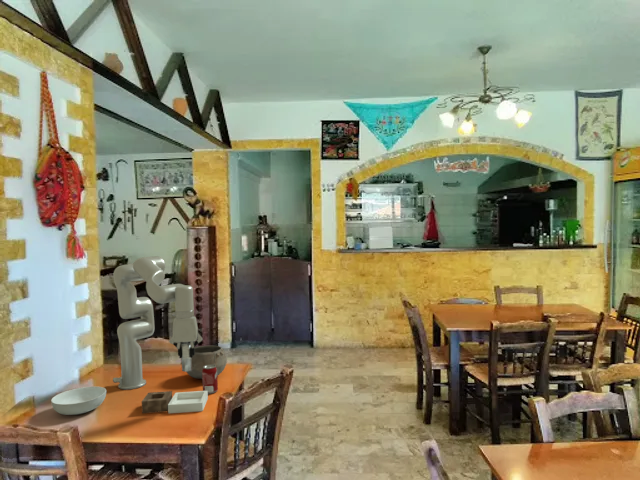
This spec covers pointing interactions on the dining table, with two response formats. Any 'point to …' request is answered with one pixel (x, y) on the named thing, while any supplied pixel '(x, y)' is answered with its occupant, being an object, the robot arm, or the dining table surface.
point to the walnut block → (156, 402)
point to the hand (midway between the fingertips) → (186, 356)
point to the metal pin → (186, 356)
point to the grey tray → (188, 402)
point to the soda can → (210, 378)
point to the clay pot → (207, 360)
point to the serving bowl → (78, 400)
